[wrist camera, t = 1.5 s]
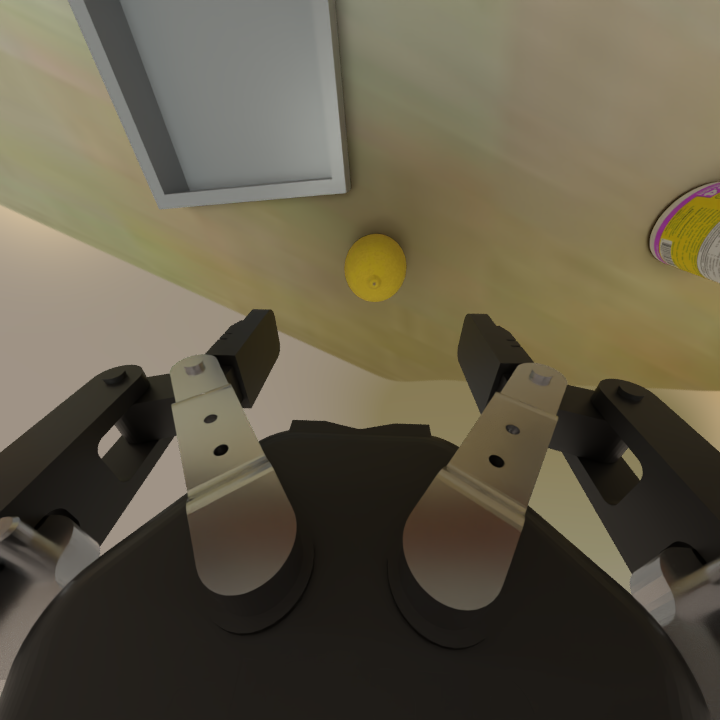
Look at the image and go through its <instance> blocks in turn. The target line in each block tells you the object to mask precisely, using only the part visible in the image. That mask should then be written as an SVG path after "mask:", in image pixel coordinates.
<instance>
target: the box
mask: <svg viewBox="0 0 720 720" xmlns="http://www.w3.org/2000/svg"><path fill="white" fill-rule="evenodd" d="M68 2H69V4H70V6H71V9H72V11H73V13H74V16H75V18H76V20H77V22H78V25H79V27H80V29H81V32H82V34H83V36H84V38H85V41H86V43H87V45H88V48H89V50H90V52H91V54H92V57H93V59H94V61H95V64H96V66H97V68H98V70H99V73H100V75H101V77H102V80H103V82H104V84H105V86H106V89H107V91H108V93H109V96H110V98H111V100H112V102H113V105H114V107H115V109H116V112H117V114H118V116H119V118H120V121H121V123H122V125H123V128H124V130H125V132H126V134H127V137H128V139H129V141H130V144H131V146H132V148H133V150H134V153H135V155H136V157H137V160H138V162H139V164H140V166H141V169H142V171H143V173H144V176H145V178H146V180H147V182H148V185H149V187H150V189H151V192H152V194H153V196H154V198H155V201H156V203H157V205H158V208H159V209H169V208H180V207H192V206H203V205H215V204H226V203H237V202H249V201H260V200H272V199H283V198H294V197H306V196H317V195H329V194H340V193H347V192H348V191H349V190H350V189H351V181H350V169H349V157H348V145H347V134H346V122H345V110H344V98H343V86H342V75H341V63H340V51H339V39H338V27H337V16H336V4H335V0H68Z"/></svg>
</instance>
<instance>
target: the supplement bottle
mask: <svg viewBox="0 0 720 720" xmlns="http://www.w3.org/2000/svg"><path fill="white" fill-rule="evenodd" d="M650 250H651V252H652V254H653V255H654V257H655V258H656V259H658V260H659V261H661V262H663V263H666V264H668V265H671V266H673V267H676V268H679V269H682V270H684V271H687V272H690V273H693V274H695V275H698V276H701V277H703V278H706V279H709V280H712V281H714V282H717V283H720V182H714V183H710V184H706V185H703V186H701V187H698V188H696V189H694V190H692V191H690V192H688V193H687V194H685V195H683V196H682V197H680V198H679V199H678V200H676V201H675V202H674V203H673V204H672V205H671V206H669V207H668V208H667V209H666V210H665V211H664V213H663V214H662V215H661V216H660V218H659V219H658V221H657V222H656V224H655V226H654V228H653V230H652V233H651V236H650Z"/></svg>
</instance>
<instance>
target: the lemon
mask: <svg viewBox="0 0 720 720" xmlns="http://www.w3.org/2000/svg"><path fill="white" fill-rule="evenodd" d="M344 269H345V277H346V280H347V283H348V285H349V287H350V288H351V290H352V291H353V292H354V293H355V294H356V295H357V296H358V297H360V298H362V299H364V300H367V301H371V302H379V301H383V300H386V299H388V298H390V297H391V296H393V295H394V294H395V293H396V292H397V291H398V289H399V288H400V287H401V285H402V283H403V281H404V278H405V274H406V259H405V256H404V253H403V251H402V249H401V247H400V246H399V245H398V243H397V242H396V241H394V240H393V239H392V238H390V237H388V236H385V235H382V234H371V235H367V236H364V237H362V238H360V239H359V240H358V241H356V242H355V243H354V244H353V246H352V247H351V248H350V250H349V252H348V254H347V257H346V260H345V267H344Z"/></svg>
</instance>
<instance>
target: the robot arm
mask: <svg viewBox="0 0 720 720" xmlns="http://www.w3.org/2000/svg"><path fill="white" fill-rule="evenodd" d="M279 352H280V342H279V337H278V331H277V326H276V321H275V316H274V313H273V311H272V310H261V309H253V310H252V311H251V312H250V313H249V314H248V315H247V317H246V318H245V319H244V320H243V321H242V320H241V321H239V322H237V323H235V324H234V325H232V326H230V327H229V329H228V330H227V331H226V332H225V334H223V335H222V336H221V337H220V340H218V341H217V342H216V343H215V344H214V345H213V346H212V347H211V348H210V349H209V350H208V351H207V353H206V354H204V355H203V354H202V355H195V356H191V357H188V358H185V359H183V360H181V361H179V362H177V363H176V364H175V365H174V366H173V367H172V368H171V370H170V374H164V375H159V376H152V377H146V375H145V373H144V371H143V370H142V368H141V367H140V366H137V365H124V366H119V367H115V368H112V369H109V370H107V371H104V372H102V373H100V374H99V375H97V376H95V377H94V378H93V379H92V380H90V381H89V382H88V383H86V384H85V385H84V386H83V387H81V388H80V389H79V390H78V391H77V392H75V393H74V394H73V395H71V396H70V397H69V398H68V399H67V400H65V401H64V402H63V403H61V404H60V405H59V406H58V407H56V408H55V409H54V410H53V411H51V412H50V413H49V414H48V415H47V416H45V417H44V418H43V419H42V420H40V421H39V422H38V423H37V424H35V425H34V426H33V427H32V428H30V429H29V430H28V431H27V432H25V433H24V434H23V435H22V436H20V437H19V438H18V439H17V440H16V441H14V442H13V443H12V444H11V445H9V446H8V447H7V448H5V449H4V450H3V451H2V452H0V692H2V694H1V697H0V720H720V452H719V451H718V450H717V449H715V448H714V447H713V446H712V445H711V444H710V443H709V442H708V441H706V440H705V439H704V438H703V437H702V436H701V435H700V434H698V433H697V432H696V431H695V430H694V429H693V428H692V427H691V426H689V425H688V424H687V423H686V422H685V421H684V420H683V419H681V418H680V417H679V416H678V415H677V414H676V413H675V412H674V411H673V410H671V409H670V408H669V407H668V406H667V405H666V404H665V403H664V402H662V401H661V400H660V399H659V398H658V397H657V396H655V395H654V394H653V393H652V392H650V391H649V390H647V389H645V388H643V387H641V386H639V385H637V384H634V383H631V382H628V381H624V380H619V379H605V380H602V381H601V382H600V383H599V385H598V386H597V388H596V389H595V391H593V390H588V389H584V388H579V387H575V386H570V385H567V380H566V378H565V377H564V376H563V375H562V374H561V373H560V372H558V371H557V370H555V369H553V368H551V367H549V366H546V365H543V364H538V363H534V362H533V361H532V359H531V358H530V357H529V356H528V354H527V353H526V352H525V351H524V349H523V348H522V347H520V344H519V343H518V342H517V341H516V339H515V338H514V337H513V336H512V334H511V333H510V332H508V331H507V330H505V329H504V328H502V327H500V326H496V325H495V324H494V322H493V321H492V320H491V318H490V317H489V316H488V314H467V315H466V317H465V319H464V323H463V328H462V332H461V337H460V341H459V345H458V361H459V363H460V366H461V368H462V371H463V373H464V375H465V378H466V380H467V382H468V385H469V387H470V389H471V392H472V394H473V397H474V399H475V401H476V404H477V406H478V408H479V411H480V413H481V416H480V417H479V418H478V420H477V421H476V423H475V425H474V426H473V427H472V429H471V431H470V432H469V433H468V435H467V437H466V438H465V439H464V441H463V442H462V444H461V446H460V447H458V446H456V445H454V444H452V443H450V442H448V441H446V440H444V439H441V438H438V437H434V436H431V433H430V427H429V425H421V424H420V425H419V424H389V425H383V426H378V427H372V428H366V429H356V428H351V427H347V426H343V425H339V424H335V423H331V422H327V421H307V420H293V421H292V424H291V427H290V429H289V430H288V431H284V432H280V433H277V434H274V435H271V436H269V437H266V438H264V439H262V440H260V441H259V442H258V440H257V438H256V435H255V433H254V431H253V429H252V427H251V425H250V423H249V421H248V419H247V417H246V415H245V413H244V411H243V408H252V406H253V404H254V402H255V400H256V398H257V396H258V394H259V392H260V391H261V388H262V387H263V385H264V383H265V381H266V379H267V377H268V375H269V373H270V371H271V369H272V368H273V365H274V364H275V362H276V360H277V358H278V356H279ZM114 424H115V426H116V427H117V429H118V430H119V431H120V433H121V434H122V436H121V437H120V438H119V439H118V441H117V442H116V443H115V444H114V445H113V446H112V447H111V449H110V450H109V451H108V452H107V453H106V454H105V456H104V457H103V458H102V459H101V458H100V457H99V455H98V444H99V442H100V440H101V438H102V437H103V436H104V435H105V434H106V433H107V432H108V431H109V430H110V428H111V427H112V426H113V425H114ZM174 436H177V439H178V444H179V449H180V455H181V461H182V466H183V471H184V477H185V481H186V487H187V493H186V494H185V495H184V496H182V497H181V498H180V499H178V500H177V501H176V502H174V503H173V504H171V505H170V506H169V507H167V508H166V509H164V510H163V511H162V512H161V513H159V514H158V515H156V516H155V517H154V518H152V519H151V520H149V521H148V522H147V523H145V524H144V525H143V526H141V527H140V528H139V529H137V530H136V531H135V532H133V533H132V534H130V535H129V536H128V537H126V538H125V539H123V540H122V541H121V542H119V543H118V544H117V545H115V546H114V547H113V548H111V549H110V550H108V551H107V552H106V553H104V554H103V555H102V556H100V557H99V555H100V546H101V544H102V543H103V541H104V540H105V538H106V537H107V535H108V534H109V532H110V531H111V530H112V528H113V527H114V525H115V523H116V522H117V520H118V519H119V518H120V516H121V515H122V513H123V512H124V510H125V509H126V507H127V505H128V504H129V503H130V501H131V500H132V498H133V497H134V495H135V494H136V492H137V491H138V489H139V488H140V487H141V485H142V484H143V482H144V481H145V479H146V478H147V476H148V474H149V473H150V472H151V470H152V469H153V467H154V466H155V464H156V462H157V461H158V460H159V458H160V457H161V455H162V454H163V452H164V451H165V449H166V448H167V447H168V445H169V443H170V442H171V441H172V439H173V437H174ZM628 447H629V449H630V450H631V451H632V452H633V454H634V455H635V456H636V457H637V458H638V460H639V461H640V463H641V466H642V469H643V476H642V479H641V480H639V479H638V477H637V476H636V475H635V473H633V471H632V470H631V469H630V467H629V466H628V464H627V463H626V462H625V461H624V459H623V458H622V457H621V456H622V455H623V453H624V452H625V451H626V450H627V449H628ZM548 448H550V449H554V450H558V451H561V452H562V453H563V455H564V456H565V459H566V460H567V462H568V463H569V465H570V467H571V469H572V471H573V472H574V474H575V476H576V478H577V479H578V481H579V483H580V484H581V486H582V488H583V490H584V492H585V493H586V495H587V497H588V498H589V500H590V502H591V504H592V505H593V507H594V509H595V511H596V512H597V514H598V516H599V518H600V519H601V521H602V523H603V525H604V526H605V528H606V530H607V531H608V533H609V535H610V537H611V538H612V540H613V542H614V544H615V545H616V547H617V549H618V551H619V552H620V554H621V556H622V557H623V559H624V561H625V562H626V565H627V566H628V568H629V570H630V571H631V573H632V576H631V578H630V589H631V593H632V595H631V594H630V593H629V592H628V591H627V590H625V589H624V588H623V587H622V586H621V585H620V584H618V583H617V582H616V581H615V580H614V579H613V578H611V577H610V576H609V575H608V574H607V573H606V572H605V571H603V570H602V569H601V568H600V567H599V566H597V565H596V564H595V563H594V562H593V561H592V560H591V559H590V558H588V557H587V556H586V555H585V554H584V553H583V552H581V551H580V550H579V549H578V548H577V547H576V546H574V545H573V544H572V543H571V542H570V541H569V540H567V539H566V538H565V537H564V536H563V535H562V534H561V533H559V532H558V531H557V530H556V529H555V528H554V527H553V526H551V525H550V524H549V523H548V522H547V521H546V520H544V519H543V518H542V517H541V516H540V515H539V514H537V513H536V512H535V511H534V510H533V509H532V508H530V507H529V506H528V503H529V500H530V497H531V495H532V492H533V489H534V486H535V483H536V480H537V478H538V475H539V472H540V469H541V466H542V463H543V460H544V458H545V455H546V452H547V449H548Z"/></svg>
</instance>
